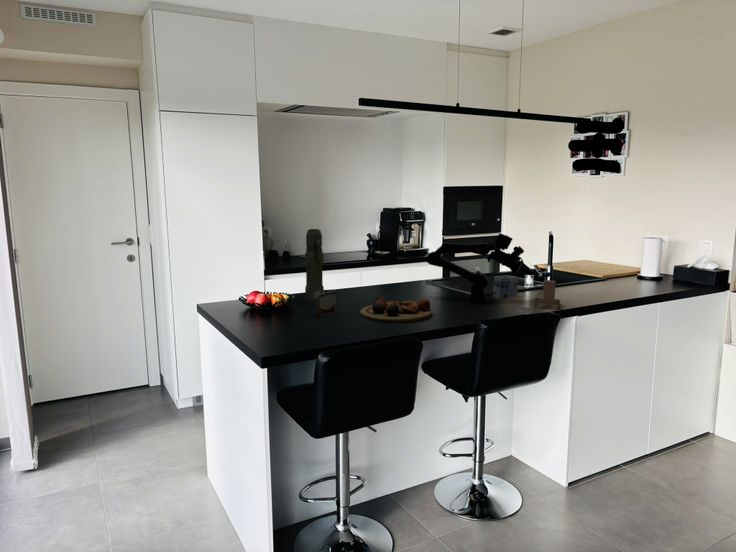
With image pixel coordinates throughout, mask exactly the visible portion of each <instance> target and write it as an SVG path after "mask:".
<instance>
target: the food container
mask: <svg viewBox="0 0 736 552" xmlns="http://www.w3.org/2000/svg"><path fill="white" fill-rule="evenodd" d="M337 296H338V291H337V289H324V290H319V291H316V292H315V293H314V298H315V301H316V303H315V309H316V310H315V311H316V316H318V317H323V316H327V315H330V314H334V313H336V305H337Z"/></svg>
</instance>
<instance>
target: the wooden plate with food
mask: <svg viewBox="0 0 736 552" xmlns="http://www.w3.org/2000/svg"><path fill="white" fill-rule="evenodd" d="M372 304H373V305H372ZM372 304H371V305H367V306H365V307H363V308H361V309H360V311H359V315H360V316H361V317H362V318H363V319H366V320H368V321H373V322H378V323H395V324H398V323H399V324H400V323H413V322H419V321H420V322H421V321H424V320H426V319H429V318H430V317H432V315H433V311H432V309H431V302H430V300H429V298H428V299H427V298H424V299H421V300H419V301H418V303H417V302H415V301H414V300H411V299H410V300H405V301H395V300H393V299H388V301H386V299H385V298H384V297H383V295H382V296H378V297H375V300H373V303H372Z"/></svg>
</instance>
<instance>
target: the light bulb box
mask: <svg viewBox="0 0 736 552" xmlns="http://www.w3.org/2000/svg"><path fill="white" fill-rule="evenodd" d="M518 289H519V277H517V276H515V275H494V278H493V290H492V291H493V295H492V296H493V298H496V299H498V300H505V299H507V298H518V294H519V293H518V291H519V290H518Z"/></svg>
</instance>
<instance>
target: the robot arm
mask: <svg viewBox="0 0 736 552" xmlns="http://www.w3.org/2000/svg"><path fill="white" fill-rule="evenodd" d="M512 241H513V238H512V237H510V236H509V235H507V234H506V235H505V234H503V233H501V232H499V234H498V236H497V238H496V240H495V242H490V243H488V242H477V243H458V242H456V243H455V242H448V241H447V242H446V241H445V242H443V243H442V244H441V246H439V247H437V249H436V250H434V251H431V252H429V253H428V254H426V255H427V256H426V257H425V258H426V263H427V264H429V265H431V266H434V267H439V268H442V269H445V270H448V271H449V272H451V273H453V274H456V275H458V276H460V277H462V278H464V279H466V280H468V281H469V282H471V283H472V284H471V287H470V299H469V300H470V301H469V304H480V305H481V304H482V305H484V304H485V303H486V293H485V288H486V287H488V284H489V277H488V276H487V275H486V273H483V272H481V271H480V270H477V271H476V272H474V271H470V270H468V269H466V268H464V267H462V266H460V265H458V264H456V263H453V262H452V261H450V260H448V259H446V258H444V256H443V255H444V254H445V253H446V252H463V253H473V254H474V255H475V254H476V255H478V256H479V255H480V256H486V261H487V262H488V263H490V262H491V260H492V261H494V262H496V263H498V264H500V265H501V266H503V267H507V268H509V270H510V272H511V274H513V275H522V276H533V275H534V273H533V269H532V268H530V267H529V266H528V265H527V264H525V263H524V260H523V258H522V257H520V256H521V255H522V254H524V252H525V250H524V249H523V248H522V246H521V245H519V246H516V245H515V246H514V247H513V251H512V252H511V253H510V252H505V250H508V249H509V247H510V245H511V243H512ZM489 253H490V254H489ZM487 255H488V256H487Z"/></svg>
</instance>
